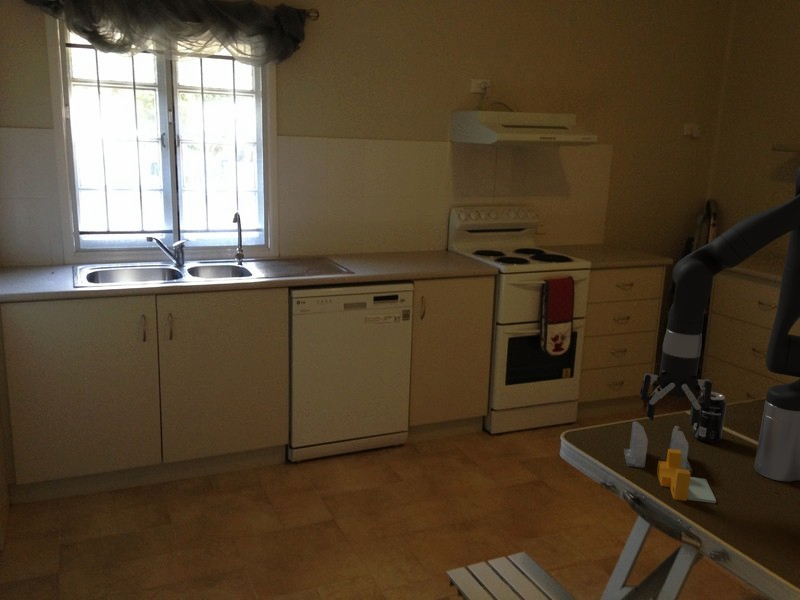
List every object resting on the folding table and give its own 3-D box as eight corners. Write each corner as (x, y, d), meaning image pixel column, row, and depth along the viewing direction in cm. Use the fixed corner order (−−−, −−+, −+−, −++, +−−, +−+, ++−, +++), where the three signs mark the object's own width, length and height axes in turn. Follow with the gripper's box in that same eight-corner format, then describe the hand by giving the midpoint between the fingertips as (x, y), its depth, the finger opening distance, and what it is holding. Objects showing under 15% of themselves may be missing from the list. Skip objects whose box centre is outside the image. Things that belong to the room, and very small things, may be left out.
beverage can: (701, 431, 190) (707, 388, 187) (725, 440, 185) (732, 396, 182) (686, 437, 186) (693, 393, 183) (711, 446, 181) (718, 402, 178)
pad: (705, 481, 162) (705, 478, 162) (715, 503, 153) (716, 500, 153) (677, 477, 163) (677, 475, 163) (686, 499, 154) (686, 496, 154)
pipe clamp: (656, 473, 166) (660, 447, 164) (676, 475, 165) (680, 450, 163) (665, 499, 154) (669, 471, 153) (686, 501, 153) (690, 474, 152)
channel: (682, 453, 176) (686, 426, 175) (691, 473, 166) (696, 445, 164) (622, 446, 179) (625, 420, 177) (627, 466, 168) (630, 438, 166)
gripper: (649, 352, 152) (639, 424, 155) (720, 359, 149) (709, 432, 153) (644, 343, 159) (635, 411, 163) (712, 349, 156) (701, 419, 160)
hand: (671, 421), depth 158 cm, fingers open, 8 cm apart
